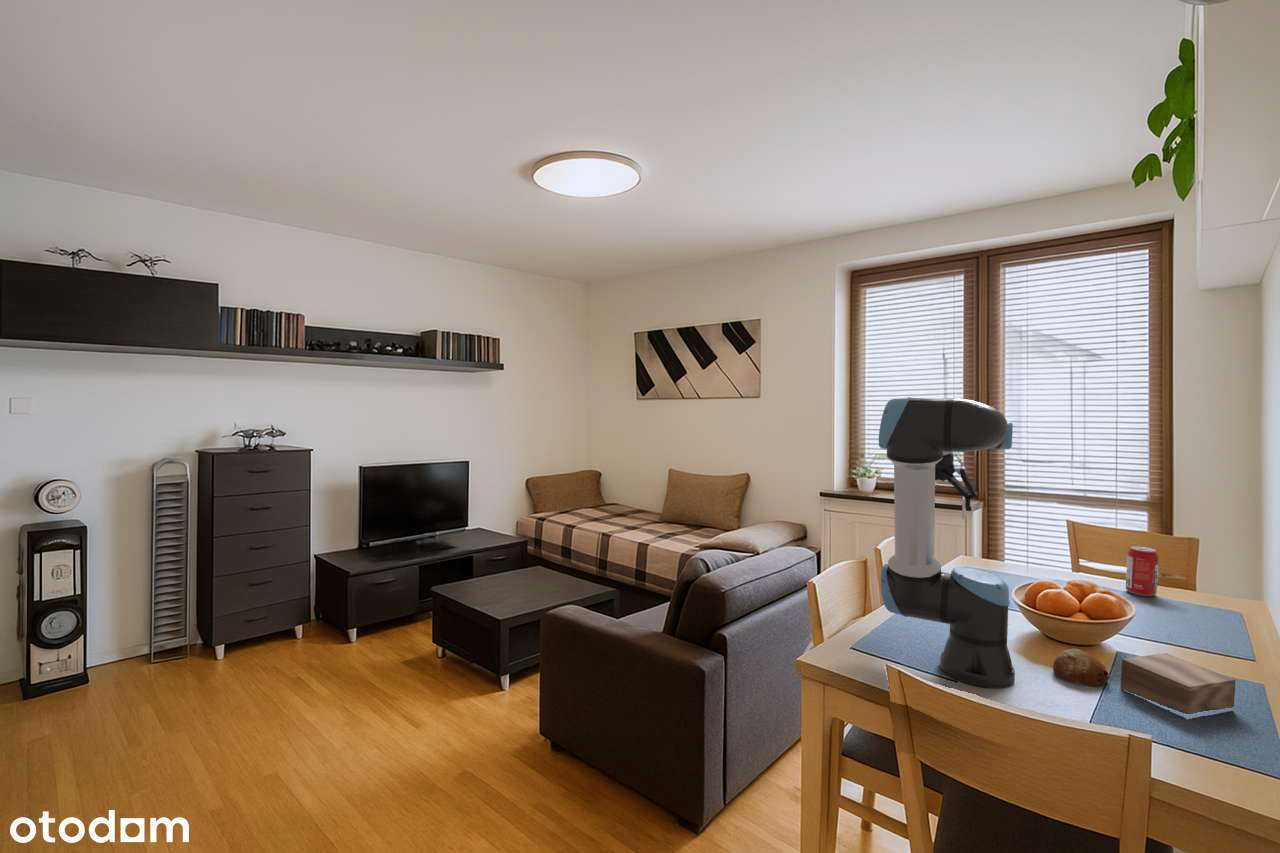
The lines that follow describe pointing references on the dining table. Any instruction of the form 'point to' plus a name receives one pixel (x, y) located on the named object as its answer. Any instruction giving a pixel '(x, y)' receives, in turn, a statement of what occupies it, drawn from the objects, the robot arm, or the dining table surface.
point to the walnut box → (1177, 683)
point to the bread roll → (1080, 668)
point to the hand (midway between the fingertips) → (939, 514)
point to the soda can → (1142, 571)
